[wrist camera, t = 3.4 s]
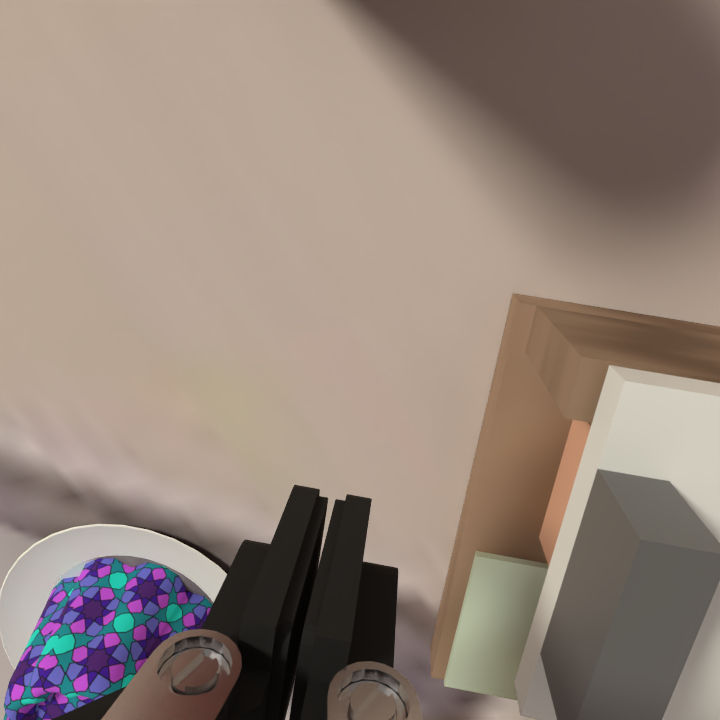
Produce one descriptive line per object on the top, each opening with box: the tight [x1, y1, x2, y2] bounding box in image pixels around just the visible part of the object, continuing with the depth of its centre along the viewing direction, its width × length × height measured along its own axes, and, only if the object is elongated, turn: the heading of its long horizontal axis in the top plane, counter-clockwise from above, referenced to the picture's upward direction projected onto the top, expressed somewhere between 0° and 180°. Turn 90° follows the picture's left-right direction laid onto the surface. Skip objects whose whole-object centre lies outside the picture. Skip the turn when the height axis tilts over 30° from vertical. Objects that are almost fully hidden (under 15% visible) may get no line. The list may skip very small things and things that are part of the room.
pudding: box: [0, 524, 227, 720], centre depth 23 cm, size 12×12×5 cm
